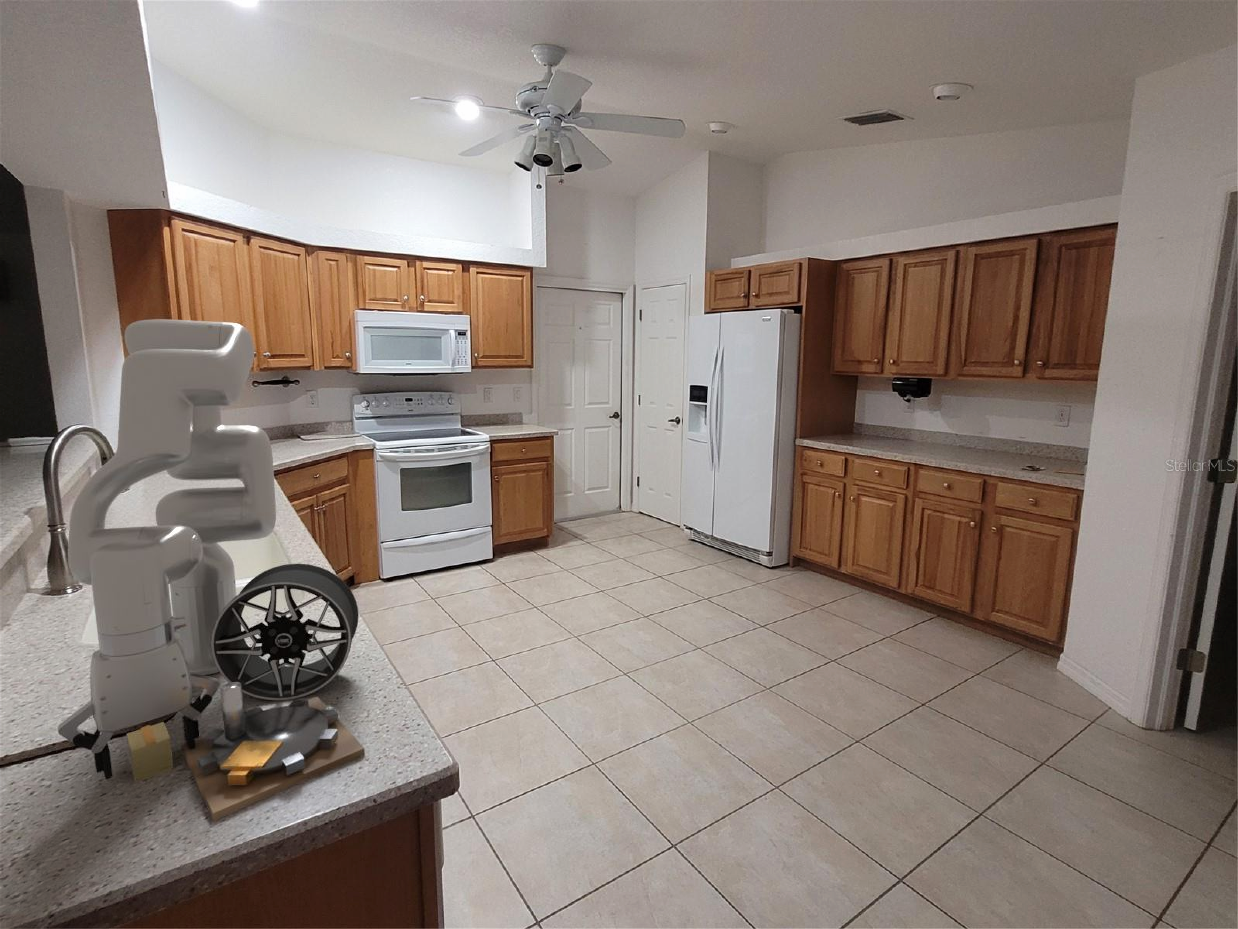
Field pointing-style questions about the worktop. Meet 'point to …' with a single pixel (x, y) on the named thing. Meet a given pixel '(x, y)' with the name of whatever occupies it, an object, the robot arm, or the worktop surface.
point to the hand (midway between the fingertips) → (150, 758)
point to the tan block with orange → (149, 751)
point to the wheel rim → (284, 634)
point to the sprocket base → (236, 797)
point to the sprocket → (265, 738)
